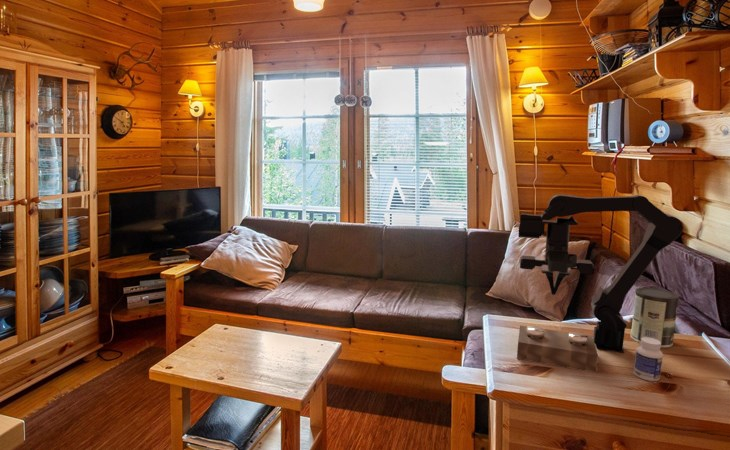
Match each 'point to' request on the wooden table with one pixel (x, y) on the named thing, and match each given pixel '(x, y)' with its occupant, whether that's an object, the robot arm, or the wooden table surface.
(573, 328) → the wooden table surface
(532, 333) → the far plunger
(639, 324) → the coffee can
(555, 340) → the block
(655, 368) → the pill bottle
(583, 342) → the near plunger
